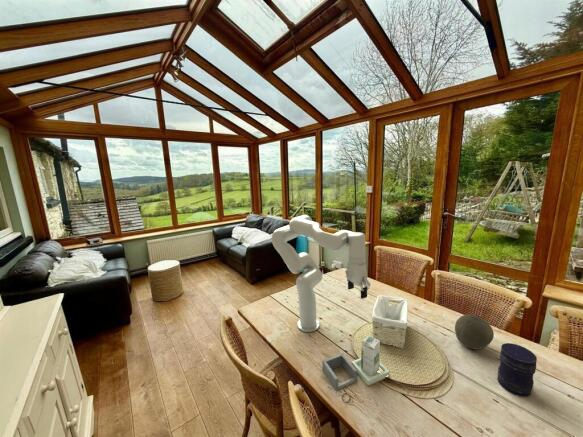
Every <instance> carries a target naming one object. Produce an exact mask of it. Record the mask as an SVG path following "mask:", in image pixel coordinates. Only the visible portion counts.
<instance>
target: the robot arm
mask: <svg viewBox="0 0 583 437" xmlns="http://www.w3.org/2000/svg"><path fill="white" fill-rule="evenodd" d="M300 235H302V236H304V237H308V238H310V239H312V240H314V242H315V243H316V244H317V245H318V246H320V247H322V248H325V249H329V250H332V251H339V250H341V249H342V248H344V247H346V246H348V260H347V265H346V270H345V277H346V279H347V280H346V281H347V289H348V290H352V289H354V288H355V286H357V287H360V289H361V290H360V299H362V300H363V299H366V298H368V290H369V289H370V287H371V286H372V284H371V283H370V282H369V280H368V271H367V269H368V268H367V264H366V235H365V233H363V232H359V231H356V232H355V231H351V230H347V229H340V230H339V231H337V232H335V233H329V232H325V231H324V230H322V226H321V223H319V222H316V221H313V219H312V217H311V216H309V215H308V214H302V215H299V216H295V217H293V218H292V219H291V220H290V221H289V224H287V225H284V226H282V227H279V228H277V229H275V230H274V231H273V233H272V234H271V243H272V245H273V247H274V249H275V250H276V251H277V253H278V254H279V255H280V257H281V259H282V260H283V262H284V264H286V266H287V268H288V270H289V271H290V272H291V273H292V274H294V275H296V274H300V273H301V272H302V274H300V275H299V276H298V277H297V278H296V281H295V286H296V289H297V296H298V310H299V320H298V321H297V323H296V324H297V328H298V329H299V330H300V331H301V332H304V333H312V332H315V331H316V330H318V329H320V328H319V327H320V321H319V320H318V319H317V302H316V301H317V299H316V294H315V292H314V288H315V287H316V286H317V285H319V284H320V283H321V282H322V280H323V273H322V271H321V269H320V268H319V267H318V264H317V263H316V261H315V260H314V259H313V257H312V256H311V255H310V254H309V253H308V252H304V251H303V252H302V251H301V252H299V253H298V252H297V251H296V249H295V248H294V246H292V245H291V244H290V243H288V241H291V240H293V239H295V238H298V237H299V236H300ZM303 271H304V272H303Z"/></svg>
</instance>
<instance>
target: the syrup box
mask: <svg viewBox="0 0 583 437" xmlns="http://www.w3.org/2000/svg"><path fill="white" fill-rule="evenodd" d="M360 345H361V348H360V349H361V351H360V354H361V356H360V358H361V370H362V371H363V372H364V373H366V374H368V375H370V376H371V377H373V376H375V375H376V373H377V371H378V370H379V361H380V357H381V356H380V352H381V351H380V350H381V343H380V341H379V340H377V339H375V338H373V336H372V335H371V336H370V335H367V336H366V337H365V338H364V339H363V340H362V341H361V344H360Z"/></svg>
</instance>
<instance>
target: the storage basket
mask: <svg viewBox="0 0 583 437" xmlns="http://www.w3.org/2000/svg"><path fill="white" fill-rule="evenodd" d="M389 303H396V304H392V305H389ZM408 319H409V300H408V299H407V298H402V297H401V298H400V297H397V296H396V297H395V296H390V295H383V294H382V295H381V294H379V295H377V298H376V299H375V303H374V306H373V310H372V316H371V324H372V337H373V338H375V339H377V340H379V341H380V342H382V343H381V344H383V343H385V344H384V345H387V346H390V345H393V346H392V347H395V346H396V347H395V348H399V347H400V348H399V349H403V348H404V347H405V346H404V345H405V343H406V341H405V340H406V331H407V326H408Z"/></svg>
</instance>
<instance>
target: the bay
mask: <svg viewBox="0 0 583 437" xmlns="http://www.w3.org/2000/svg"><path fill="white" fill-rule="evenodd" d="M321 364H322V367H321V368H322V372H323V373H324V375H325V376H326V378H327V379H328V382H330V384H331V386H332V387H333V388H334V390H335V391H337V390H340V389H342V388H345V387H347V386H349V385H351V384H353V383H355V382H357V381H358V373H357V370H356V368H355V367H354V366H353V365H352V361H350V360H349V359H348V358H347V356H346V355H345V354H344V353H343V352H341V353H338V354H335V355H332V356H331V357H328V358H326V359H322V361H321ZM340 366H342V367H343V369H344V370H345V371H346V373H347V374H348V375H349V376H350V377H351V378H350V379H349V378H348V379H347V380H344V381H343V382H340V383H339V377H338V376H337V375H336V374H335V372H334V371H333V370H334V369H336V368H339V367H340Z"/></svg>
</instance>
